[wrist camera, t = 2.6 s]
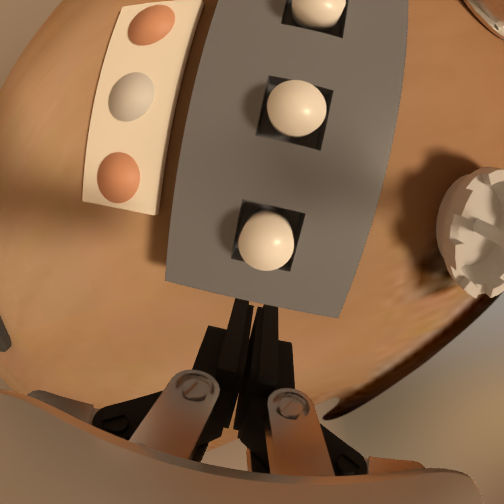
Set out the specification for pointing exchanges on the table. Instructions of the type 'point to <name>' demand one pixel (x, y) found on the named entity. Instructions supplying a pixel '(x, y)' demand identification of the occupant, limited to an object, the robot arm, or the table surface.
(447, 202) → the flag stand
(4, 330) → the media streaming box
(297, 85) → the middle button
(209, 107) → the button panel
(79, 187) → the table surface
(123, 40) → the pattern card
